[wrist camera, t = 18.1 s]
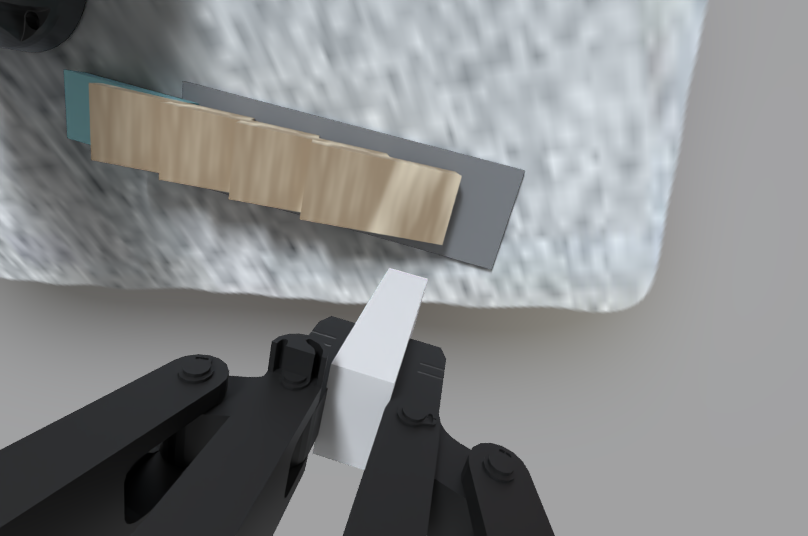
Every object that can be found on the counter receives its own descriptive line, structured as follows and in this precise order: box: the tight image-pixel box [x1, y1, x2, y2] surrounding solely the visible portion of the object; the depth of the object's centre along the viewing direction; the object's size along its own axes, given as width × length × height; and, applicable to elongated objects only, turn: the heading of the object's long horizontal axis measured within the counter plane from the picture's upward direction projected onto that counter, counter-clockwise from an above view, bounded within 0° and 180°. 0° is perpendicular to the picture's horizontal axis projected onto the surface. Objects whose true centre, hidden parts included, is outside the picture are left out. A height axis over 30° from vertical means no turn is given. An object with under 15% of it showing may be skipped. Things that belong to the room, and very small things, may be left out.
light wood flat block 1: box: [89, 83, 255, 173], centre depth 35 cm, size 2×6×12 cm
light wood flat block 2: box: [229, 121, 389, 212], centre depth 35 cm, size 2×6×12 cm
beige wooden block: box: [159, 102, 320, 192], centre depth 35 cm, size 2×6×12 cm
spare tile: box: [64, 69, 199, 145], centre depth 38 cm, size 2×6×12 cm
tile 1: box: [300, 140, 462, 245], centre depth 34 cm, size 2×6×12 cm
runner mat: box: [182, 81, 525, 270], centre depth 37 cm, size 31×9×1 cm, turn 77°
